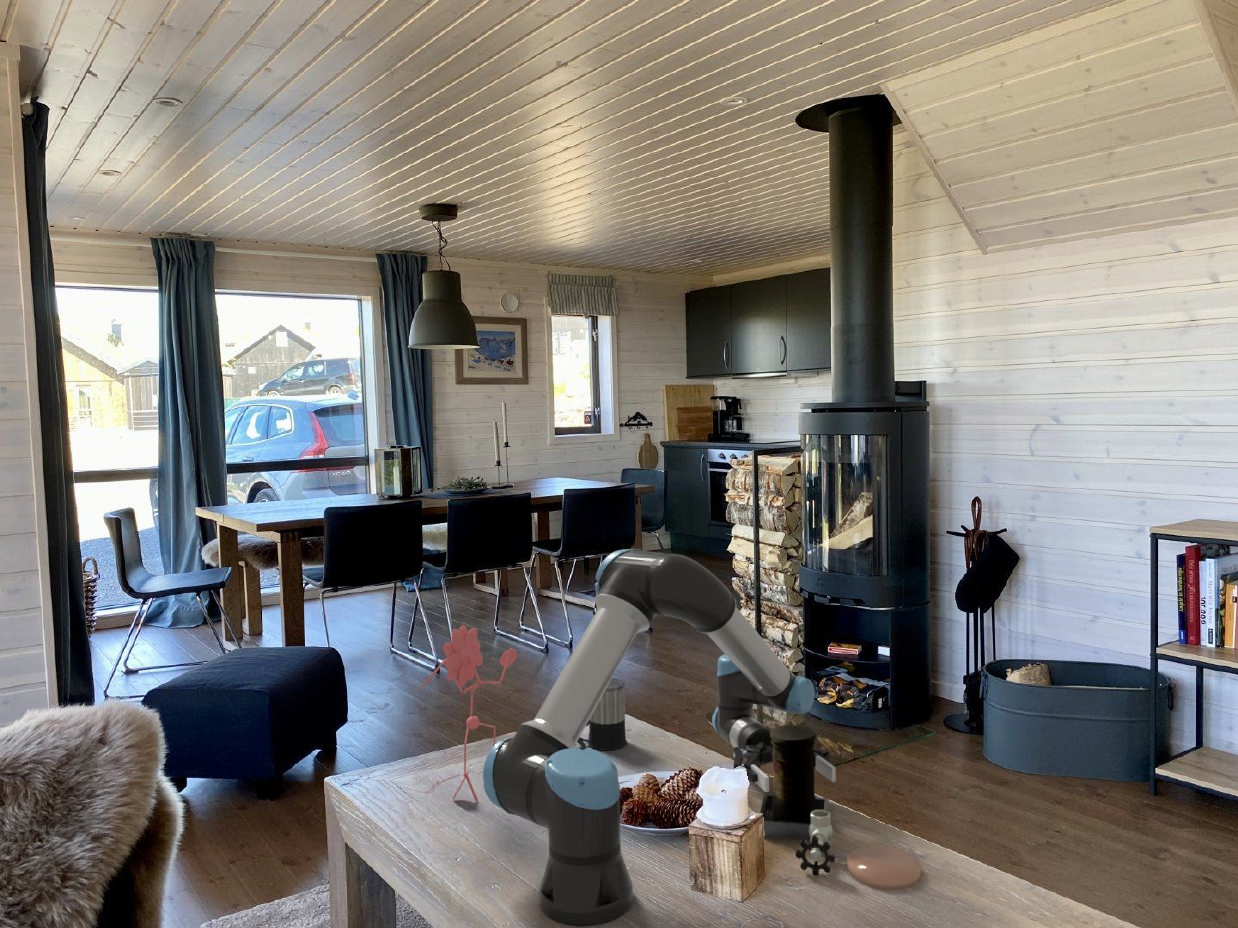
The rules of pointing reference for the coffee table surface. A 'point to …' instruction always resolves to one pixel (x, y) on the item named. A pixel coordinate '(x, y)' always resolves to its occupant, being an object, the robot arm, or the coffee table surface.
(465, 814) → the coffee table surface
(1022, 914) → the coffee table surface
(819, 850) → the valve
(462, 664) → the figurine
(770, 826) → the collar
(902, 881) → the peach soap bar
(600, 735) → the milk frother
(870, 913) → the coffee table surface
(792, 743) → the container
